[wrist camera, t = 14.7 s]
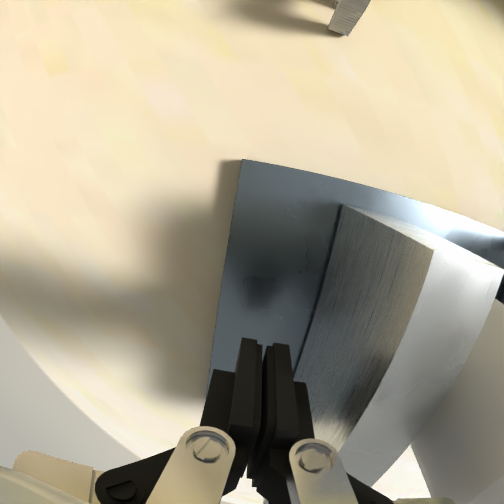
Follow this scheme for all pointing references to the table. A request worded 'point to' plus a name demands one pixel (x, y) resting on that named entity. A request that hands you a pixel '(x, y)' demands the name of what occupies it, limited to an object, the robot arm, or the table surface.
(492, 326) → the can
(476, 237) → the vise
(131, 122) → the table surface
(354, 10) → the caliper
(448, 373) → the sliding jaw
